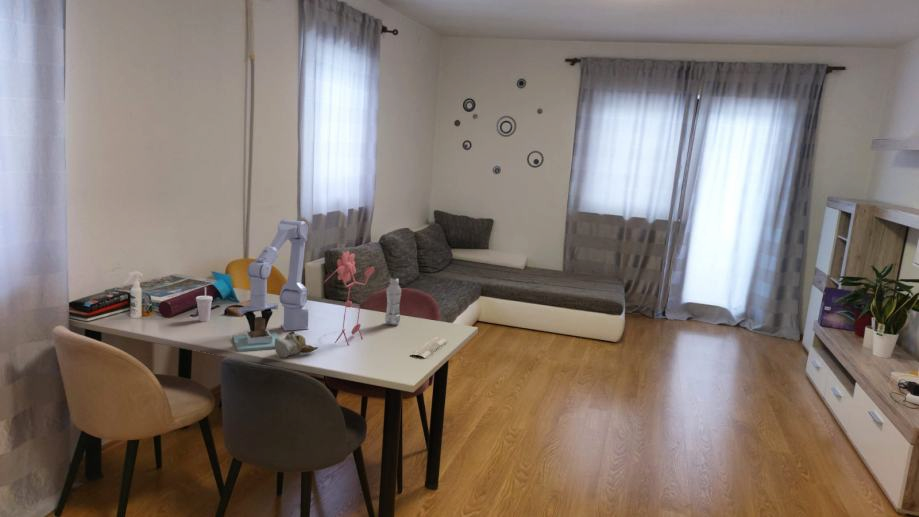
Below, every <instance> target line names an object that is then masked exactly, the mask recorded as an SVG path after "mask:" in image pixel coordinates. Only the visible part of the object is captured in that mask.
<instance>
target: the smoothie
mask: <svg viewBox="0 0 919 517" xmlns="http://www.w3.org/2000/svg"><path fill="white" fill-rule="evenodd" d="M213 298H214V297H213V296H211V295H207V287H206V286H204V295H198V296H196V297H195V301H196V305H197V310H198V311H197V312H198V319H199V322H201V323H202V322H203V323H206V322H209V321H210V317H211V310H212V303H213V302H212V301H213Z"/></svg>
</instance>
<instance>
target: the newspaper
mask: <svg viewBox="0 0 919 517" xmlns="http://www.w3.org/2000/svg"><path fill="white" fill-rule="evenodd" d="M444 342H445V343H446V342H447V340H446V339H445V338H443V337H439V336H437V337H436V336H435V337H432V338H431V339H428V341H427V342H426V343H424V344H422V345H421V346H420V347H419V348H417V350H415V351H414V352H412V353H411V354H410V355H409V357H413V356H420V357H422V358H424V360H426V359H427V358H428V357H429V356H431V355H432V354H433V353H434V352H436V351H437V350H438V349H439V348H441V346H443V345H444V344H445V343H444ZM443 343H444V344H443ZM442 344H443V345H442ZM437 348H438V349H437ZM436 349H437V350H436ZM412 355H413V356H412Z"/></svg>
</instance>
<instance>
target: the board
mask: <svg viewBox="0 0 919 517" xmlns="http://www.w3.org/2000/svg"><path fill="white" fill-rule="evenodd" d="M270 334H271V335H272V343H266V344H253V345H247V342H246V340H245V338H244V334H238V335H237V334H236V335H232V339H233V342H234V344H235V347H236V349H237V352H238V353H240V352H251V351H262V350H265V351H266V350H274V349H275V339H276V338H277V339H281V337H280V336H279V334H278V333H277V332H270Z"/></svg>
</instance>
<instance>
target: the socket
mask: <svg viewBox="0 0 919 517" xmlns="http://www.w3.org/2000/svg"><path fill="white" fill-rule="evenodd" d="M270 333H271V332H270V331H269V329H266V330H265V336H263V337H251V336H250V330H245V331H244V334H243V335H244V338H245V340H246V342H247V345H253V344H266V343H272V335H271V334H270Z"/></svg>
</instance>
